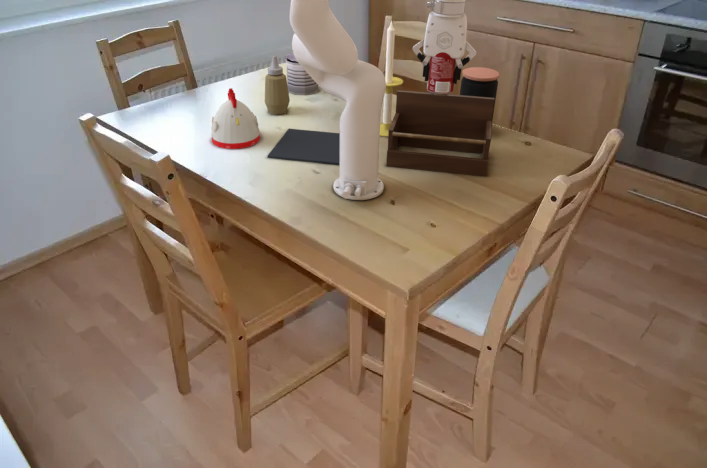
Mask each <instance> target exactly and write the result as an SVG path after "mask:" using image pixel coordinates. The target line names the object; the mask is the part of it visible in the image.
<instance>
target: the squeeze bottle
mask: <svg viewBox="0 0 707 468" xmlns="http://www.w3.org/2000/svg"><path fill="white" fill-rule="evenodd" d="M264 80H265V81H264V82H265V83H264V105H265V106H266V109H267V111H268V113H269V114H270V115H284V114H286V113H287V112H288V108H289V105H290V100H291V99H290V92H289V91H288V86H287V74H284V68H283V66H280V64H279V61H278V57H277V55H273V56H272V59H271V66H268V67H267V74H266V75H265V79H264Z"/></svg>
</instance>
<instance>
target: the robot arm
mask: <svg viewBox="0 0 707 468" xmlns="http://www.w3.org/2000/svg"><path fill="white" fill-rule="evenodd" d="M465 7H466V0H431V1H427V4H426V8H429V9H431V10H432V11H430V12H429V14H428V17H427V21H426V25H425V32H424V38H422V39H421V40H419V41H418V42H417V43H416V44H414V45H413V46H412V49H411V50H412V51H413V53H414V54H415V55H416V57H417V59H418V60H419V62H421V64H422V66H423V67H422V78H424V82H428V73H429V62H430V58H431V57H434V56H436V54H438V53H441V52H445V53H447V54H449V55H450V56H451V58H453V59H456V69H455V77H454V85H457V84H458V81H461V77H462V76H461V75H462V69H463V67H464V66H466V65H467V64H468V63H470V61H472V60H473V59H474V58H475V56H477V54H478V53H477V51H476V50H475V48H474V47H473V46H472V45H471V44H470V42H469V41H468V40H467V34H468V16H467V14H466V13H465ZM289 24H290V28H291V29H292V31H293V35H292V39H291V49H292V53H294V56H295V58H296V60H297V61H298V63H299V64H300V65H301V66H302V67H303V69H304V70H305V71H306V72H307V73H308V74H309V75H310V76H311V78H312V79H313V80H314V81H315V82H316V83H317V84H318V85H319V87H320V88H321V89H322V91H324V92H326V93H328V94H330V95H331V96H334V97H336V98H339V99H340V100H342V101H345V107H344V109H343V110H342V113H341V114H340V117H339V133H340V165H339V177H337V178H336V179H335V180H334V182H333V185H332V186H333V191H334V193H336V195H338V196H339V197H342V198H343V199H345V200H347V199H348V200H353V201H366V200H372V199H375V198H377V197H378V196H379V197H380V195H381V194H382V193H383V192H384V189H385V184H384V182H383V181H382V179H380V178H379V158H380V136H379V135H380V123H381V115H382V109H383V104H384V95H385V90H386V80H385V77H384V76H385V74H384V73H383V72H382V70H380V69H379V67H377V66H375V65H374V64H371V63H369V62H367V61H363V60H361V59H359V52H358V48H357V45H356V44H355V42H354V40H353V39H352V37H351V35H349V34H348V32H347V31H346V29H345V28H344V27H343V25H342V24H341V23H340V21H339V20H338V19H337V18H336V16H335V14H334V13H333V11H332V9H331V7H330V0H290V6H289ZM421 48H423V52H422V51H421V50H420V49H421ZM466 51H467V52H468V54H467V55H466V56H464V55H465V53H466ZM463 57H464V58H463Z"/></svg>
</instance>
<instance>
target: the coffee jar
mask: <svg viewBox="0 0 707 468" xmlns="http://www.w3.org/2000/svg"><path fill="white" fill-rule="evenodd" d="M461 75H462V77H461V79H460V89H459V95H464V96H476V97H489V98H494V106H493V112H492V119H491V128H493V127H492V126H493V122H494V121H493V120H494V114H495V113H494V112H495V107H496V100H497V93H498V86H499V80H498V79H499V78H500V73H499V71H498V70H496V69H492V68H489V67H484V66H483V67H481V66H473V67H467V68H464V69H463V70H462V71H461Z"/></svg>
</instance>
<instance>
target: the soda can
mask: <svg viewBox="0 0 707 468" xmlns="http://www.w3.org/2000/svg"><path fill="white" fill-rule="evenodd" d="M456 66H457V63H456V59H453V58H451V56H450V55H449V54H447V53H445V52H441V53H438V54H436V56H434V57H431V58H430V60H429V73H428V81H427V83H426V91H427V92H428V93H431V94H434V95H438V96H445V95H448V94H453V92H454V87H455V83H454V77H455V69H456Z"/></svg>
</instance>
